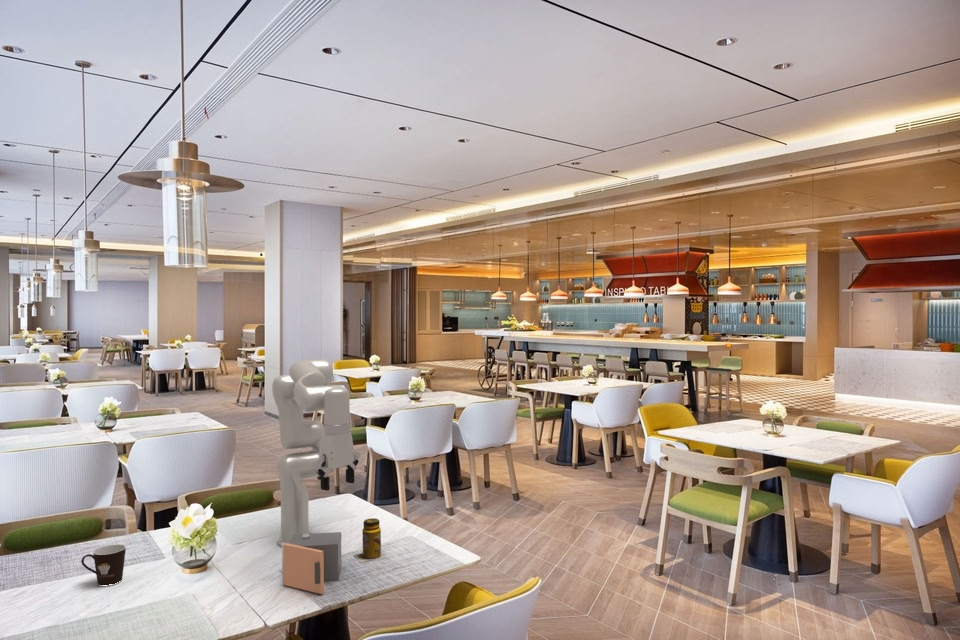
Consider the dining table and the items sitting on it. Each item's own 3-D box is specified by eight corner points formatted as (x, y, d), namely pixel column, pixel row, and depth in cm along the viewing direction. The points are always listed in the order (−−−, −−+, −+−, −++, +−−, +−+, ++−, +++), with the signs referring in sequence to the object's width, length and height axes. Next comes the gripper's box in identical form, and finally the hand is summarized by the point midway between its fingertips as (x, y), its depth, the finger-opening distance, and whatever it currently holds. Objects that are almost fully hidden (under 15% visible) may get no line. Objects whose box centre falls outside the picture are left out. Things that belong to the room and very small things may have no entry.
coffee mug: (132, 578, 191) (132, 546, 191) (108, 589, 183) (107, 556, 183) (104, 573, 195) (104, 542, 195) (79, 584, 187) (78, 551, 187)
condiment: (385, 557, 206) (385, 521, 206) (361, 563, 201) (361, 526, 201) (376, 550, 212) (376, 515, 212) (353, 556, 208) (352, 520, 208)
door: (284, 582, 185) (283, 542, 186) (323, 592, 178) (323, 550, 178) (279, 585, 184) (278, 544, 184) (319, 595, 177) (318, 553, 177)
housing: (293, 569, 197) (293, 532, 197) (341, 566, 199) (341, 529, 199) (287, 583, 186) (287, 544, 186) (338, 580, 188) (337, 541, 188)
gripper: (350, 424, 195) (351, 478, 195) (305, 432, 181) (306, 490, 181) (367, 426, 191) (367, 481, 191) (322, 434, 177) (323, 494, 177)
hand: (337, 486), depth 186 cm, fingers open, 9 cm apart
